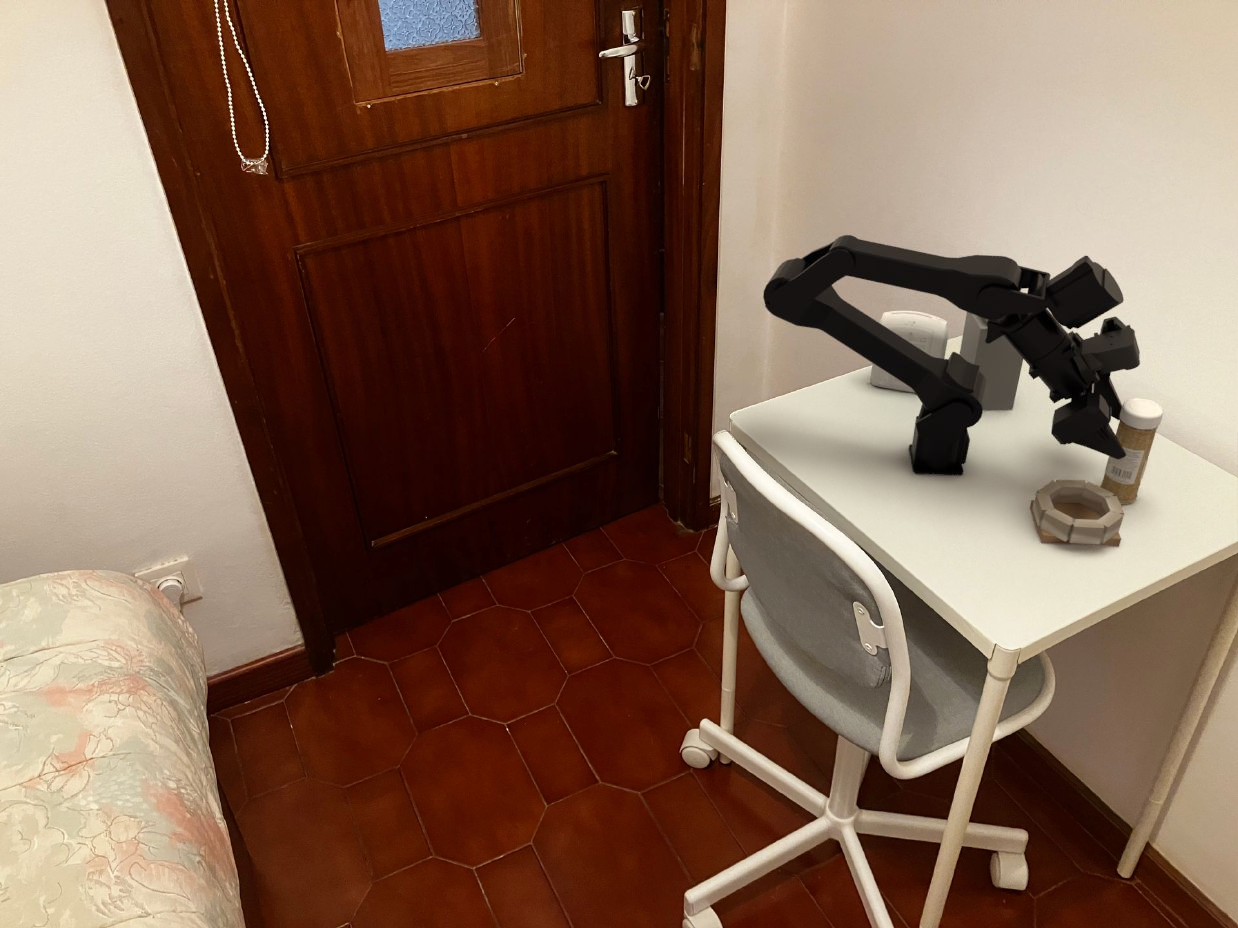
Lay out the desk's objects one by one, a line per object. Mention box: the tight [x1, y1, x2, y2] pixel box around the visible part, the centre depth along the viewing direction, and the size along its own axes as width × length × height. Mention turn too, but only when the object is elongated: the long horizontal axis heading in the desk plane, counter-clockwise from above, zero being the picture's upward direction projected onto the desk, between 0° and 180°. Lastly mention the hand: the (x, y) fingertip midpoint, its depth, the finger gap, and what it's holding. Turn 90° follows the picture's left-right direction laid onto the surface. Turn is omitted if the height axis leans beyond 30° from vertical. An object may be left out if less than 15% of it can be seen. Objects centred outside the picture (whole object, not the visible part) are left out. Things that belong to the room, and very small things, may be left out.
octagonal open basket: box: [1029, 479, 1125, 547], centre depth 125 cm, size 10×10×4 cm
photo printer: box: [870, 310, 949, 394], centre depth 151 cm, size 10×4×12 cm, turn 69°
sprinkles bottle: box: [1099, 397, 1164, 505], centre depth 127 cm, size 5×5×14 cm
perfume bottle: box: [958, 312, 1024, 412], centre depth 146 cm, size 7×7×18 cm
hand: (1122, 437), depth 126 cm, fingers open, 9 cm apart
